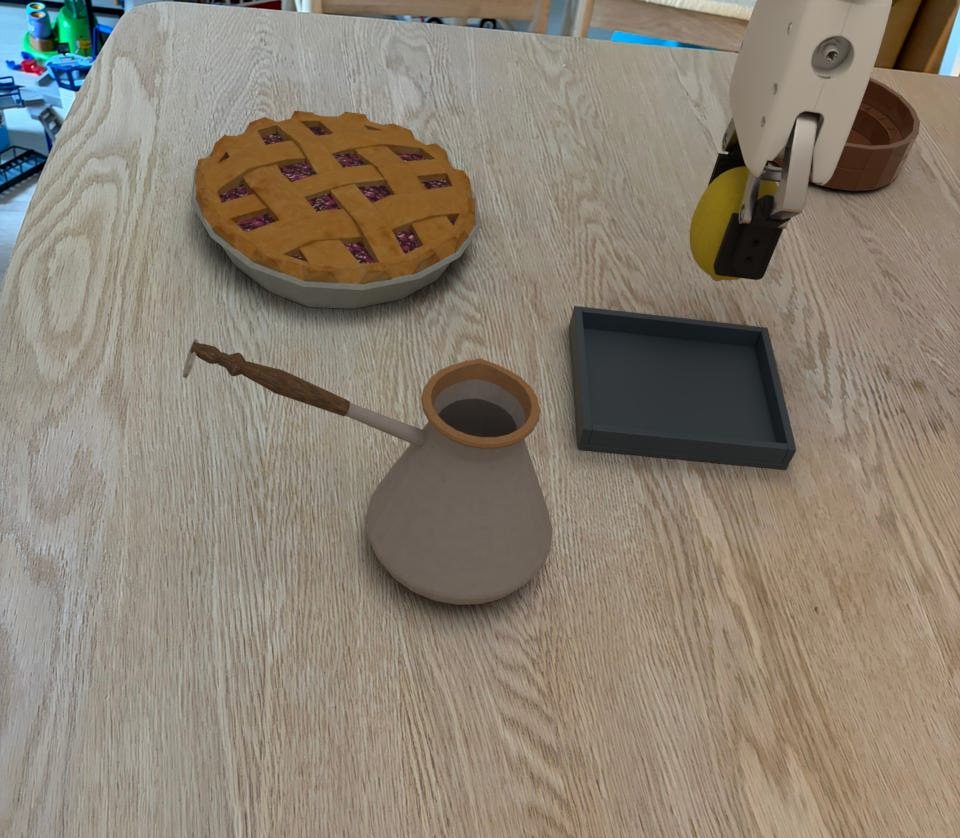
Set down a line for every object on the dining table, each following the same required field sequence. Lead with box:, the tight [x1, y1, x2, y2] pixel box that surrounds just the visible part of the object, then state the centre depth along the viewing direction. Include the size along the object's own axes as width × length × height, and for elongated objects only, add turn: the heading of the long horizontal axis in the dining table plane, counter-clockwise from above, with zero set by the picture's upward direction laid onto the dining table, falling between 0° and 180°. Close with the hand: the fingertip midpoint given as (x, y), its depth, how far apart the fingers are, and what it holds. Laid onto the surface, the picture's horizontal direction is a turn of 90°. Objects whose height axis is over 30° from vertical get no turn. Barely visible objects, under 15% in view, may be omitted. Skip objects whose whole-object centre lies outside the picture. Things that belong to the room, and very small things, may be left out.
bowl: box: [772, 77, 921, 192], centre depth 100 cm, size 14×14×4 cm
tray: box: [568, 305, 797, 471], centre depth 78 cm, size 15×13×2 cm
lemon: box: [689, 166, 779, 282], centre depth 67 cm, size 6×6×8 cm
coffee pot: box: [182, 338, 553, 606], centre depth 61 cm, size 21×12×15 cm, turn 91°
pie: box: [190, 110, 481, 310], centre depth 83 cm, size 22×22×5 cm
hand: (731, 241), depth 68 cm, fingers closed on lemon, 5 cm apart
